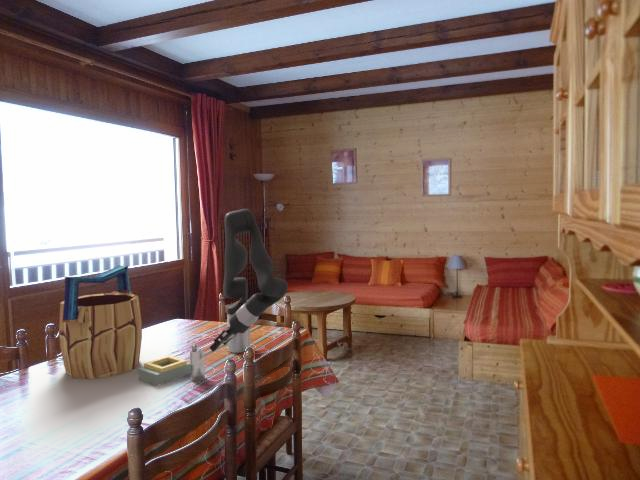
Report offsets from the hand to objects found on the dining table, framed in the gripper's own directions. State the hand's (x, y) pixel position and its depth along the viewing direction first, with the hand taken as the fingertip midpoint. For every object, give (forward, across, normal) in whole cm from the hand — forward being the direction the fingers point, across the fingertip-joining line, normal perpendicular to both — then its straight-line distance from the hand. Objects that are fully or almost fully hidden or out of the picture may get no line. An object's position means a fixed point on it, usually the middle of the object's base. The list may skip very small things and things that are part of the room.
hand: (217, 346), depth 174 cm
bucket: (+48, -2, -28) cm, 56 cm away
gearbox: (+25, -2, -6) cm, 26 cm away
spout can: (+15, 0, +3) cm, 16 cm away
